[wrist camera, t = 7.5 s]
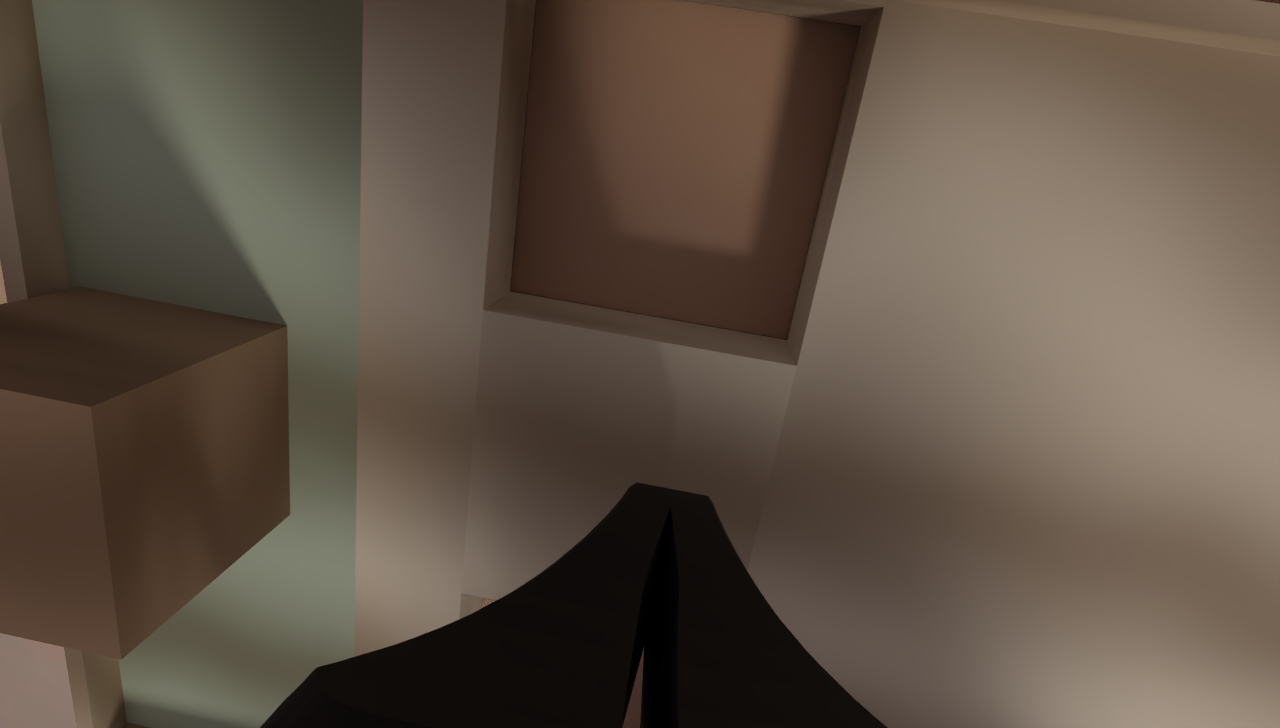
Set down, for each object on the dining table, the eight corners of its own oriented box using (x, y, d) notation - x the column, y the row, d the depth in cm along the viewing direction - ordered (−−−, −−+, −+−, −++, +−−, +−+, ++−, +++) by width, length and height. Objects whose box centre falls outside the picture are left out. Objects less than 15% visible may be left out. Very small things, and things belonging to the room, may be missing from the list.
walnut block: (290, 514, 13) (121, 659, 10) (103, 476, 14) (-133, 603, 10) (287, 325, 12) (90, 407, 8) (81, 286, 12) (-202, 348, 8)
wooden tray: (1098, 883, 16) (1161, 1004, 14) (165, 680, 17) (82, 760, 15) (1532, 89, 10) (1765, 72, 8) (82, -122, 12) (-73, -188, 9)
